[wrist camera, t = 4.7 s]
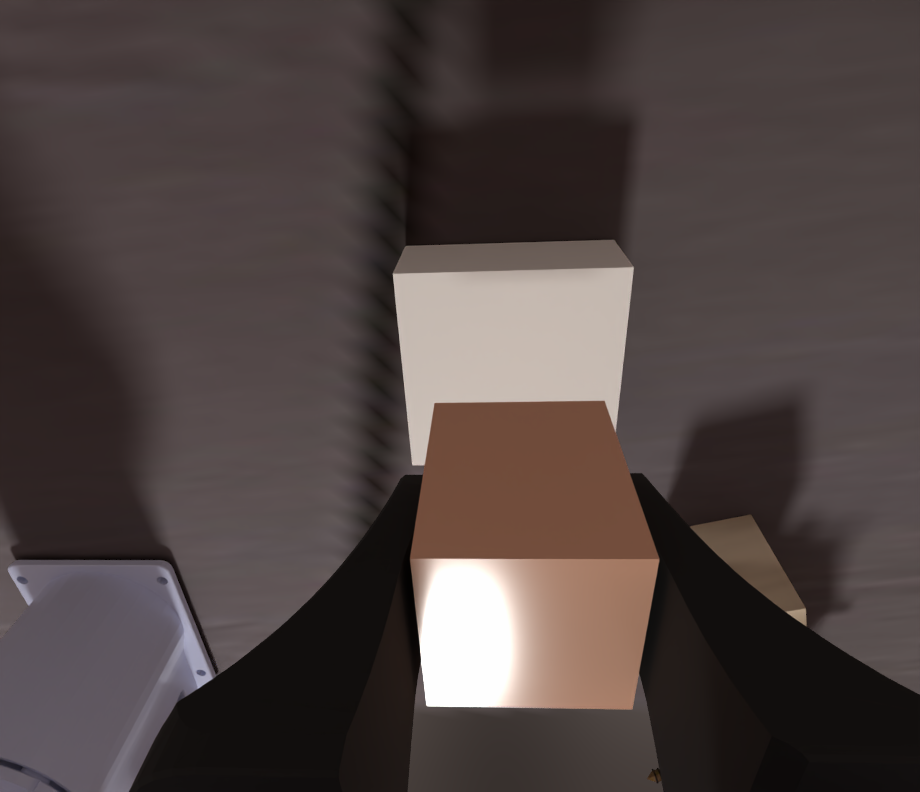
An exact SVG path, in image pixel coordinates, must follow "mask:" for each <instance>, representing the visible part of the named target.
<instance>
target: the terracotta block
mask: <svg viewBox="0 0 920 792" xmlns="http://www.w3.org/2000/svg"><path fill="white" fill-rule="evenodd" d="M410 564H411V573H412V581H413V590H414V599H415V608H416V616H417V625H418V634H419V643H420V652H421V660H422V669H423V678H424V687H425V695H426V704H427V706H455V707H516V708H577V709H632V708H633V703H634V697H635V692H636V686H637V681H638V675H639V670H640V664H641V659H642V653H643V648H644V642H645V637H646V631H647V626H648V620H649V614H650V609H651V603H652V598H653V592H654V587H655V581H656V576H657V570H658V565H659V556H658V553H657V551H656V548H655V545H654V542H653V539H652V536H651V533H650V530H649V527H648V525H647V522H646V519H645V516H644V513H643V510H642V507H641V504H640V501H639V499H638V496H637V493H636V490H635V487H634V484H633V481H632V478H631V476H630V473H629V470H628V467H627V464H626V461H625V458H624V455H623V452H622V450H621V447H620V444H619V441H618V438H617V435H616V432H615V429H614V426H613V424H612V421H611V418H610V415H609V412H608V409H607V406H606V403H605V401H542V402H466V403H434V409H433V415H432V422H431V428H430V435H429V441H428V447H427V454H426V460H425V466H424V473H423V479H422V485H421V492H420V498H419V504H418V511H417V517H416V523H415V530H414V536H413V542H412V549H411V555H410Z"/></svg>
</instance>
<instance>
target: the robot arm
mask: <svg viewBox="0 0 920 792" xmlns="http://www.w3.org/2000/svg"><path fill="white" fill-rule="evenodd" d="M630 476H631V478H632V481H633V484H634V487H635V490H636V493H637V496H638V499H639V501H640V504H641V507H642V510H643V513H644V516H645V519H646V522H647V525H648V527H649V530H650V533H651V536H652V539H653V542H654V545H655V548H656V551H657V553H658V556H659V565H658V570H657V576H656V581H655V587H654V592H653V598H652V603H651V609H650V614H649V620H648V626H647V631H646V637H645V642H644V648H643V653H642V659H641V664H640V670H639V674H640V677H641V681H642V685H643V689H644V693H645V697H646V701H647V706H648V711H649V716H650V721H651V726H652V731H653V736H654V742H655V747H656V752H657V758H658V763H659V769H660V775H661V780H662V786H663V791H664V792H920V695H919V694H917V693H915V692H913V691H911V690H910V689H908V688H906V687H904V686H902V685H900V684H898V683H896V682H895V681H893V680H891V679H889V678H887V677H886V676H884V675H882V674H880V673H879V672H877V671H875V670H874V669H872V668H870V667H869V666H867V665H865V664H864V663H862V662H860V661H859V660H857V659H855V658H854V657H852V656H850V655H849V654H847V653H845V652H844V651H842V650H841V649H839V648H838V647H836V646H835V645H833V644H831V643H830V642H828V641H827V640H825V639H824V638H822V637H821V636H819V635H818V634H816V633H815V632H814V631H812V630H811V629H809V628H808V627H806V626H805V625H803V624H802V623H801V622H799V621H798V620H796V619H795V618H793V617H792V616H791V615H789V614H788V613H787V612H785V611H784V610H782V609H781V608H780V607H778V606H777V605H776V604H774V603H773V602H772V601H771V600H769V599H768V598H767V597H766V596H764V595H763V594H762V593H761V592H759V591H758V590H757V589H756V588H754V587H753V586H752V585H751V584H749V583H748V582H747V581H746V580H745V579H744V578H742V577H741V576H740V575H739V574H738V573H737V572H735V571H734V570H733V569H732V568H731V567H730V566H729V565H728V564H727V563H726V562H725V561H724V560H722V559H721V558H720V557H719V556H718V555H717V554H716V553H715V552H714V551H713V550H712V549H711V548H710V547H709V546H708V545H707V544H706V543H705V542H704V541H703V540H702V539H701V538H700V537H699V536H698V535H697V534H696V533H695V532H694V531H693V530H692V529H691V528H690V526H689V525H688V524H687V523H686V522H685V521H684V520H683V519H682V518H681V517H680V516H679V515H678V514H677V512H676V511H675V510H674V509H673V508H672V507H671V506H670V505H669V504H668V502H667V501H666V500H665V499H664V498H663V497H662V495H661V494H660V493H659V492H658V491H657V490H656V489H655V487H654V486H653V485H652V484H651V483H650V482H649V480H648V479H647V478H646V477H645V476H644V475H643V474H642V473H630ZM422 479H423V475H405V476H403V477H402V478H401V479H400V481H399V483H398V485H397V487H396V488H395V490H394V492H393V494H392V495H391V497H390V498H389V500H388V502H387V503H386V505H385V506H384V508H383V509H382V511H381V513H380V514H379V516H378V517H377V518H376V520H375V521H374V523H373V524H372V526H371V527H370V528H369V530H368V531H367V533H366V534H365V536H364V537H363V538H362V540H361V541H360V542H359V544H358V545H357V546H356V547H355V549H354V550H353V551H352V552H351V554H350V555H349V556H348V557H347V559H346V560H345V561H344V562H343V564H342V565H341V566H340V567H339V568H338V569H337V571H336V572H335V573H334V574H333V575H332V576H331V577H330V579H329V580H328V581H327V582H326V583H325V584H324V585H323V586H322V587H321V588H320V589H319V590H318V591H317V592H316V593H315V595H314V596H313V597H312V598H311V599H310V600H309V601H308V602H307V603H305V604H304V605H303V606H302V607H301V608H300V609H299V610H298V611H297V612H296V613H295V614H294V615H293V616H292V617H291V618H290V619H289V620H288V621H286V622H285V623H284V624H283V625H282V626H281V627H280V628H278V629H277V630H276V631H275V632H274V633H273V634H271V635H270V636H269V637H268V638H266V639H265V640H264V641H263V642H261V643H260V644H259V645H258V646H256V647H255V648H254V649H253V650H251V651H250V652H249V653H248V654H246V655H245V656H244V657H243V658H241V659H240V660H239V661H237V662H236V663H235V664H233V665H232V666H231V667H229V668H228V669H226V670H225V671H224V672H222V673H221V674H219V675H218V676H216V674H215V671H214V669H213V666H212V664H211V661H210V659H209V656H208V654H207V651H206V649H205V646H204V644H203V642H202V639H201V637H200V634H199V632H198V629H197V627H196V624H195V622H194V619H193V617H192V614H191V612H190V609H189V607H188V604H187V602H186V599H185V597H184V594H183V592H182V589H181V587H180V584H179V582H178V579H177V577H176V574H175V572H174V569H173V567H172V566H171V564H169V563H168V562H166V561H163V560H15V561H14V562H13V563H12V564H11V565H10V566H9V567H8V572H9V574H10V576H11V577H12V579H13V580H14V582H15V584H16V585H17V587H18V589H19V590H20V592H21V594H22V595H23V597H24V599H25V600H26V602H27V604H28V605H29V606H28V607H27V609H26V610H25V611H24V612H23V613H22V615H21V616H20V617H19V618H18V619H17V620H16V622H15V623H14V624H13V625H12V626H11V628H10V629H9V630H8V631H7V632H6V633H5V635H4V636H3V637H2V638H1V639H0V792H407V790H408V777H409V764H410V751H411V739H412V727H413V716H414V704H415V694H416V687H417V679H418V673H419V667H420V662H421V652H420V643H419V634H418V625H417V616H416V608H415V599H414V590H413V581H412V573H411V564H410V555H411V549H412V542H413V536H414V530H415V523H416V517H417V511H418V504H419V498H420V492H421V485H422Z"/></svg>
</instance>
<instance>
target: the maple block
mask: <svg viewBox="0 0 920 792" xmlns="http://www.w3.org/2000/svg"><path fill="white" fill-rule="evenodd" d="M690 528H691V529H692V530H693V531H694V532H695V533H696V534H697V535H698V536H699V537H700V538H701V539H702V540H703V541H704V542H705V543H706V544H707V545H708V546H709V547H710V548H711V549H712V550H713V551H714V552H715V553H716V554H717V555H718V556H719V557H720V558H721V559H722V560H724V561H725V562H726V563H727V564H728V565H729V566H730V567H731V568H732V569H733V570H734V571H735V572H737V573H738V574H739V575H740V576H741V577H742V578H744V579H745V580H746V581H747V582H748V583H749V584H751V585H752V586H753V587H754V588H756V589H757V590H758V591H759V592H761V593H762V594H763V595H764V596H766V597H767V598H768V599H769V600H771V601H772V602H773V603H774V604H776V605H777V606H778V607H780V608H781V609H782V610H784V611H785V612H787V613H788V614H789V615H791V616H792V617H793V618H795V619H796V620H798V621H799V622H801V623H802V624H803V625H805V626H806V608H805V606H804V604H803V603H802V601H801V599H800V598H799V596H798V594H797V592H796V591H795V589H794V587H793V586H792V584H791V582H790V580H789V579H788V577H787V575H786V574H785V572H784V570H783V568H782V567H781V565H780V563H779V562H778V560H777V558H776V556H775V555H774V553H773V551H772V550H771V548H770V546H769V544H768V543H767V541H766V539H765V538H764V536H763V534H762V532H761V531H760V529H759V527H758V526H757V524H756V522H755V521H754V519H753V517H752V515H746V516H741V517H735V518H730V519H725V520H720V521H715V522H709V523H704V524H699V525H694V526H690Z"/></svg>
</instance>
